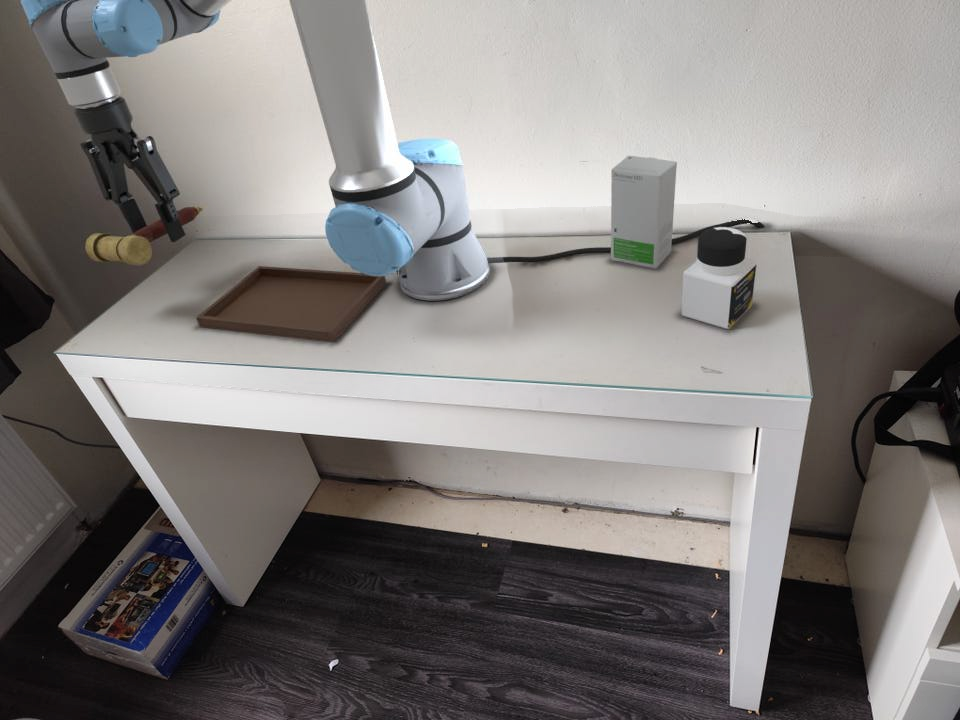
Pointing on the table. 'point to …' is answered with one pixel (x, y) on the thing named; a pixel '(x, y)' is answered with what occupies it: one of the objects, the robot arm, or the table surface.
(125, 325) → the table surface
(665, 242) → the cosmetic box
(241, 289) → the tray
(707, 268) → the medicine bottle
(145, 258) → the gavel
